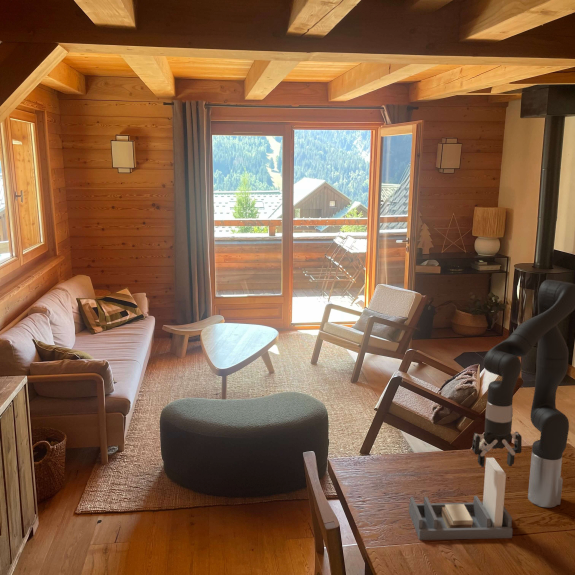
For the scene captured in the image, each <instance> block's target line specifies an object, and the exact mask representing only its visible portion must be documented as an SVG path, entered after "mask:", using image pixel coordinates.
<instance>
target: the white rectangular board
mask: <svg viewBox="0 0 575 575" xmlns="http://www.w3.org/2000/svg"><path fill="white" fill-rule="evenodd" d="M484 468H485V469H484V482H483V483H484V484H483V494H482V496H483V498H482V502H483V507H484V508H485V510H486V512H487V513H488V515H489V517H490V518H491V520H490V527H502V520H503V507H505V504H504V503H505V492H506V491H505V490H506V480H507V479H506V478H507V474H506V472H505V471H504V470H503V468H502V467H501V466H500V464H499V463H498V462H497V460H496V459H495V458H494V457H485V465H484Z"/></svg>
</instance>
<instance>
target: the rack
mask: <svg viewBox="0 0 575 575" xmlns="http://www.w3.org/2000/svg"><path fill="white" fill-rule="evenodd" d="M423 498H424V499H423V503H417V502H416V500H415V498H414V497H413V496H411V497H409V504H408V514H409V516H410V520H411V522H412V525H413V527H414V529H415V532H416V536H417V537H418V540H419V541H424V540H425V541H431V540H432V541H433V540H437V541H439V540H475V539H477V540H478V539H482V540H484V539H512V538H513V527H512V522H513V517H512V516H511V514H510V512H509V511H508V510H507V508H506V507H505V506H504V507H503V520H502V527H490V520H491V518H490V517H489V515H488V513H487V512H486V510H485V508H484V507H483V501H481V500H480V499H479V497H478V495H473V501H472V502H439V503H438V502H437V503H436V502H433V503H431V501H430V500H429V498H428V496H423ZM448 504H464V505H465V507H466V509H467V511H468V513H469V514H470V516H471V518H472V520H473V524H472V525H471V526H472V528H447V526H446V524H445V522H444V520H443V518H442V516H441V511H442V507H445V505H448Z"/></svg>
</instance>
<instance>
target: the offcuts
mask: <svg viewBox="0 0 575 575" xmlns="http://www.w3.org/2000/svg"><path fill="white" fill-rule="evenodd" d="M441 516H442V518H443V520H444V522H445V524H446V526H447V528H472V526H471V525H472V524H473V520H472V518H471V516H470V514H469V513H468V511H467V509H466V507H465V505H464V504H448V505H445V507H442V511H441Z"/></svg>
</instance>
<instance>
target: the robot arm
mask: <svg viewBox="0 0 575 575" xmlns="http://www.w3.org/2000/svg"><path fill="white" fill-rule="evenodd" d="M573 311H575V283H573V282H567V281H561V280H554V279H545V280H544V281H543V282H541V283H540V286H539V289H538V293H537V315H535V316H533V317H531V318H528V319H526V320H525V321H524V322H522V323H521V324H519V325H518V326H517V327H516V329H515V330H514V331H513V332H512V333H511V334H510V335H509V337H508V338H506V339H504V340H503V341H501V342H500V343H498V344H496V345H495V346H493V347H492V348H491V349H489V350H488V351H487V352H486V353H485V356H484V357H483V361H482V363H483V368H484V369H485V370H486V371H487V372H489V373H491V374H494V375H497V376H499V377H501V380H493V381H491V382H489V384H488V385H487V386H488V387H487V398H486V399H487V400H486V401H487V402H486V406H485V418H484V419H485V420H484V432H483V433H482V434H479V433H477V432H474V433H473V436H472V445H471V446H472V447H471V450H472V452H473V454H474V455H477V462H478V463H477V464H478V465H479V466H480V467H481V468H485V462H486V457H485V455H486V454H487V453H488V452H489V451H490V450H492V449H493V450H495V449H504V448H506V449H507V451H508V452H507V457H506V463H507V465H508V466H509V467H512V466H513V465H514V463H515V456H516V454H521V453H522V446H523V445H522V435H521V434H520V433H519V432H518V431H515V432H513V433H512V427H513V415H514V413H513V412H514V411H513V409H514V408H513V399H514V398H513V397H514V390H515V388H516V384H517V381H518V379H519V376H520V374H521V371H522V362H521V360H520V357H521V358H523V357H525V356H527V355H528V354H529V353H530V352H531V350H533V348H534V347H535V345H537V349H536V350H537V351H536V362H535V364H536V368H535V369H536V370H535V382H534V383H535V384H534V393H533V399H532V404H531V407H530V408H531V409H530V421H531V424H532V425H533V427H534V428H535V429H537V430H538V431H539V432H540V437H539V439H537V440H535V441H534V442H532V448H531V457H530V469H529V481H528V490H527V499H528V501H530V503H532V504H534V505H536V506H538V507H540V508H554V507H557V506H558V505H561V500H562V491H563V480H564V479H563V477H562V476H561V475H562V474H561V473H562V462H563V453H564V451H565V449H566V448H567V443H568V437H569V430H570V422H569V421H570V420H569V419H568V417H567V416H566V415H565V413H563V411H560V410H559V409H558V408H557V407H556V400H557V399H556V397H557V390H558V387H559V385H560V384H561V383H562V382H563V379H564V378H565V377H566V375H567V372H568V367H569V347H568V346H567V342H566V340H565V339H564V336H563V335H562V332H561V330H560V328H559V327H558V324H559V323H560V322H562V320H564V319H565V318H567V317H568V316H569V315H571V313H573ZM482 440H484V441H483V442H482ZM511 440H513V444H514V446H513V447H512V446H511V445H510V444H509V443H510V442H511ZM481 442H482V443H481ZM480 443H481V446H480Z"/></svg>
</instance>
